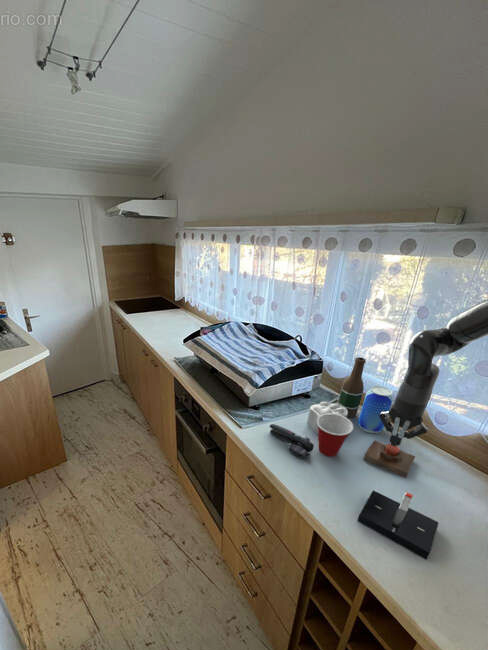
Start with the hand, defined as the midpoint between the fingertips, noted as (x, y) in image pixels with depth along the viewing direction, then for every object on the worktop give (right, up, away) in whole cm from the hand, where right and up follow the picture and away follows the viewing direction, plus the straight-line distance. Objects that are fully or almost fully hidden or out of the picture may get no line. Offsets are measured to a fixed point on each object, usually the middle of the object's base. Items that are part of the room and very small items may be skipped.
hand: (393, 444), depth 96 cm
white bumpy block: (-12, +3, +20) cm, 24 cm away
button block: (0, -6, +3) cm, 7 cm away
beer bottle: (-1, +7, +28) cm, 28 cm away
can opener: (-29, -2, +11) cm, 31 cm away
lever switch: (-11, -17, -17) cm, 27 cm away
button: (0, -3, +2) cm, 3 cm away
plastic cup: (-18, -4, +7) cm, 19 cm away
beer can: (+3, +2, +19) cm, 19 cm away
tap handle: (-11, -15, -19) cm, 26 cm away
